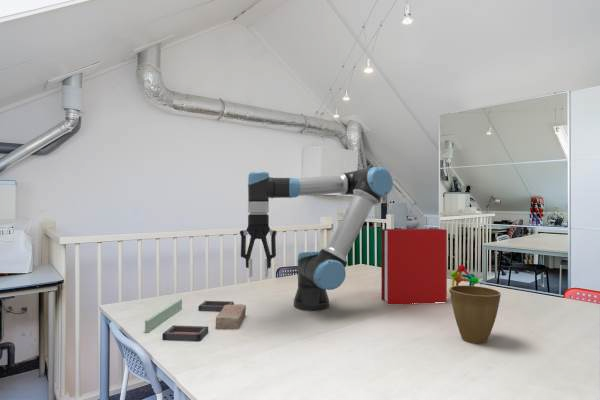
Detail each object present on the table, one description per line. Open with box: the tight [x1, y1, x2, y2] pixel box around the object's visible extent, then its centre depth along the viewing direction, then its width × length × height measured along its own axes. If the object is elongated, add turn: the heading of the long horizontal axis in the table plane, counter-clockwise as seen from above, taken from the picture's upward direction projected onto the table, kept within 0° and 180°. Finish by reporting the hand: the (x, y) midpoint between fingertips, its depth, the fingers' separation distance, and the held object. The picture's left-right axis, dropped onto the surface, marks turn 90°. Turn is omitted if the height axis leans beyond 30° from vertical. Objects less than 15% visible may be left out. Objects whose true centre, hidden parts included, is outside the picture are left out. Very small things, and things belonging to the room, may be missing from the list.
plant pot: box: [449, 285, 502, 344], centre depth 122 cm, size 15×15×16 cm
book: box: [381, 228, 448, 305], centre depth 168 cm, size 27×8×32 cm, turn 96°
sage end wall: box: [144, 298, 183, 333], centre depth 142 cm, size 1×28×4 cm, turn 175°
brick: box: [215, 303, 247, 330], centre depth 140 cm, size 17×8×5 cm, turn 179°
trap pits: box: [161, 300, 235, 342], centre depth 141 cm, size 12×40×2 cm, turn 175°
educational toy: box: [448, 264, 479, 293], centre depth 178 cm, size 16×13×15 cm
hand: (258, 276), depth 139 cm, fingers open, 5 cm apart
